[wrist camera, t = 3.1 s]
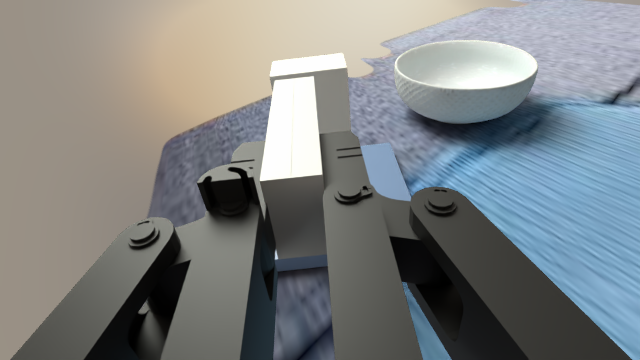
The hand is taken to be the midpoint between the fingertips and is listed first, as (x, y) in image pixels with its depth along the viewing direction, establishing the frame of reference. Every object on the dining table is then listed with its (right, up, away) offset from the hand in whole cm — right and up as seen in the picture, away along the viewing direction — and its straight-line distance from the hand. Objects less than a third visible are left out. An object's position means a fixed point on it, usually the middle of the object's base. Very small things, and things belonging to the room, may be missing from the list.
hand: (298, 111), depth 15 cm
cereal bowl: (+20, +7, +36) cm, 41 cm away
